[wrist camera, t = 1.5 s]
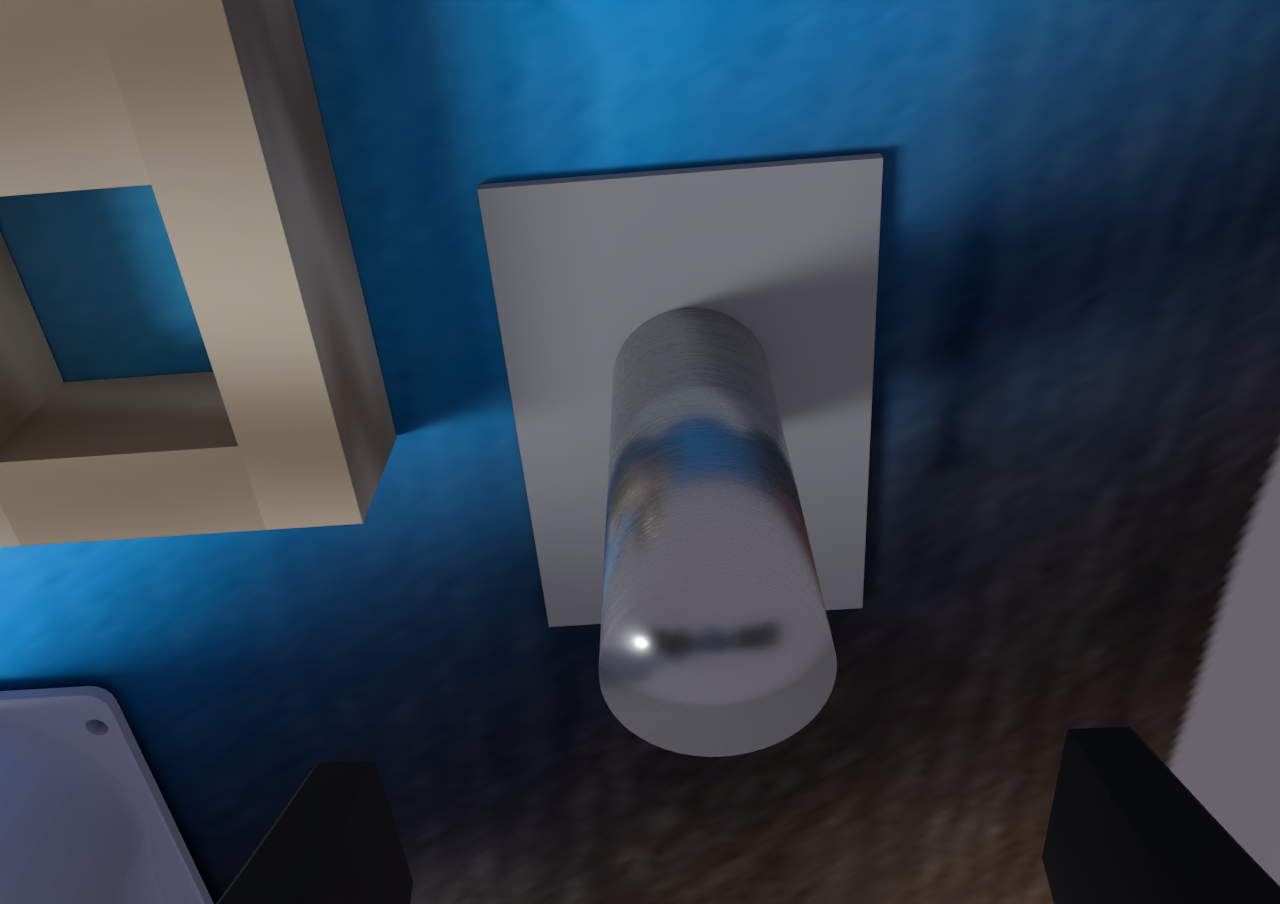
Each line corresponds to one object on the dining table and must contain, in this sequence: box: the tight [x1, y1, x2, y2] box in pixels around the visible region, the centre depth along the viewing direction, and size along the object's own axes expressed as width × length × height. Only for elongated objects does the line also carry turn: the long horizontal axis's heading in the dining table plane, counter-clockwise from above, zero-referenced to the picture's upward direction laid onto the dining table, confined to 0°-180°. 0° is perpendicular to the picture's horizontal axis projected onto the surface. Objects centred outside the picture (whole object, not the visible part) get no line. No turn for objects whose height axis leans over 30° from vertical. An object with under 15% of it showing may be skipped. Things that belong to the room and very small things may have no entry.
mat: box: [477, 153, 883, 627], centre depth 20 cm, size 10×7×1 cm
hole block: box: [0, 0, 397, 547], centre depth 15 cm, size 16×8×3 cm, turn 4°
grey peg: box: [599, 308, 837, 757], centre depth 16 cm, size 3×3×8 cm
